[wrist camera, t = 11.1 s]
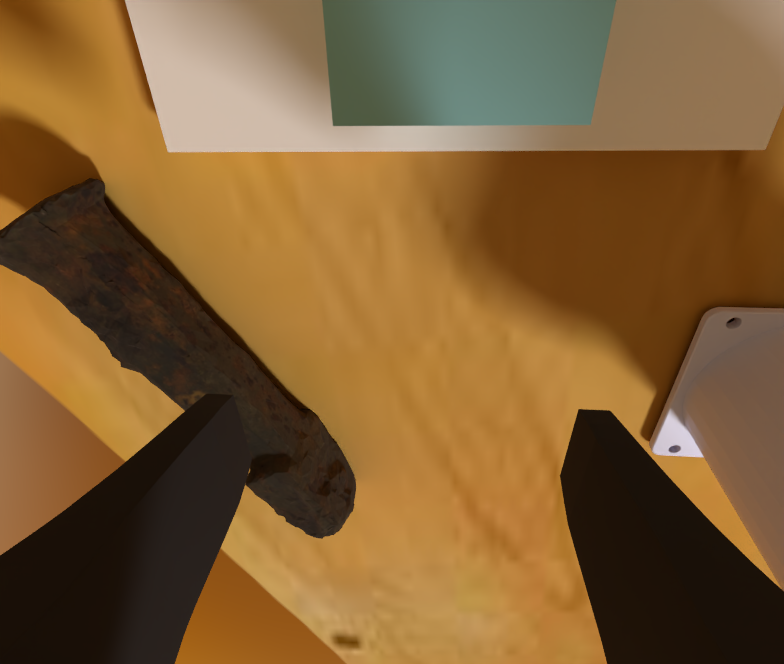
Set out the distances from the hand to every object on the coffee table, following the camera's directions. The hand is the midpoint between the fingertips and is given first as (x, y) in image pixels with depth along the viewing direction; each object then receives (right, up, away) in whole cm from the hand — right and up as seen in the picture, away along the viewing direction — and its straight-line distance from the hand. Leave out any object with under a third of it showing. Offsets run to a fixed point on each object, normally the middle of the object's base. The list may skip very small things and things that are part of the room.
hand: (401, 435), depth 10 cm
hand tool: (-7, +1, +12) cm, 14 cm away
